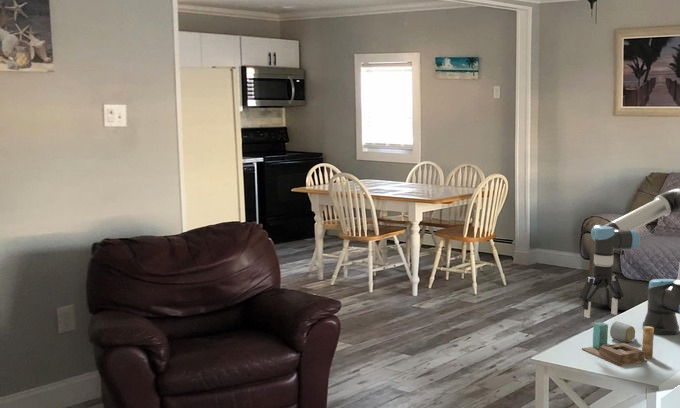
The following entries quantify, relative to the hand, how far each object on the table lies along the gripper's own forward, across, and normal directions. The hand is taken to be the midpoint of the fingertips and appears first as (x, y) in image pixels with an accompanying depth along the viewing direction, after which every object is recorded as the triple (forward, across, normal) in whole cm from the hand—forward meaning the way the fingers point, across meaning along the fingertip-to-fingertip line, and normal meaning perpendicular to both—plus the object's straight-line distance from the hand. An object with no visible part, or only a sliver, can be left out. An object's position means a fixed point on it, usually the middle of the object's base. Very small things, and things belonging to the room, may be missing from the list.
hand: (600, 315), depth 331 cm
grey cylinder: (+14, -19, -7) cm, 25 cm away
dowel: (+14, -11, +15) cm, 23 cm away
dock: (+14, 0, +8) cm, 16 cm away
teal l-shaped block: (+13, 0, +7) cm, 15 cm away
